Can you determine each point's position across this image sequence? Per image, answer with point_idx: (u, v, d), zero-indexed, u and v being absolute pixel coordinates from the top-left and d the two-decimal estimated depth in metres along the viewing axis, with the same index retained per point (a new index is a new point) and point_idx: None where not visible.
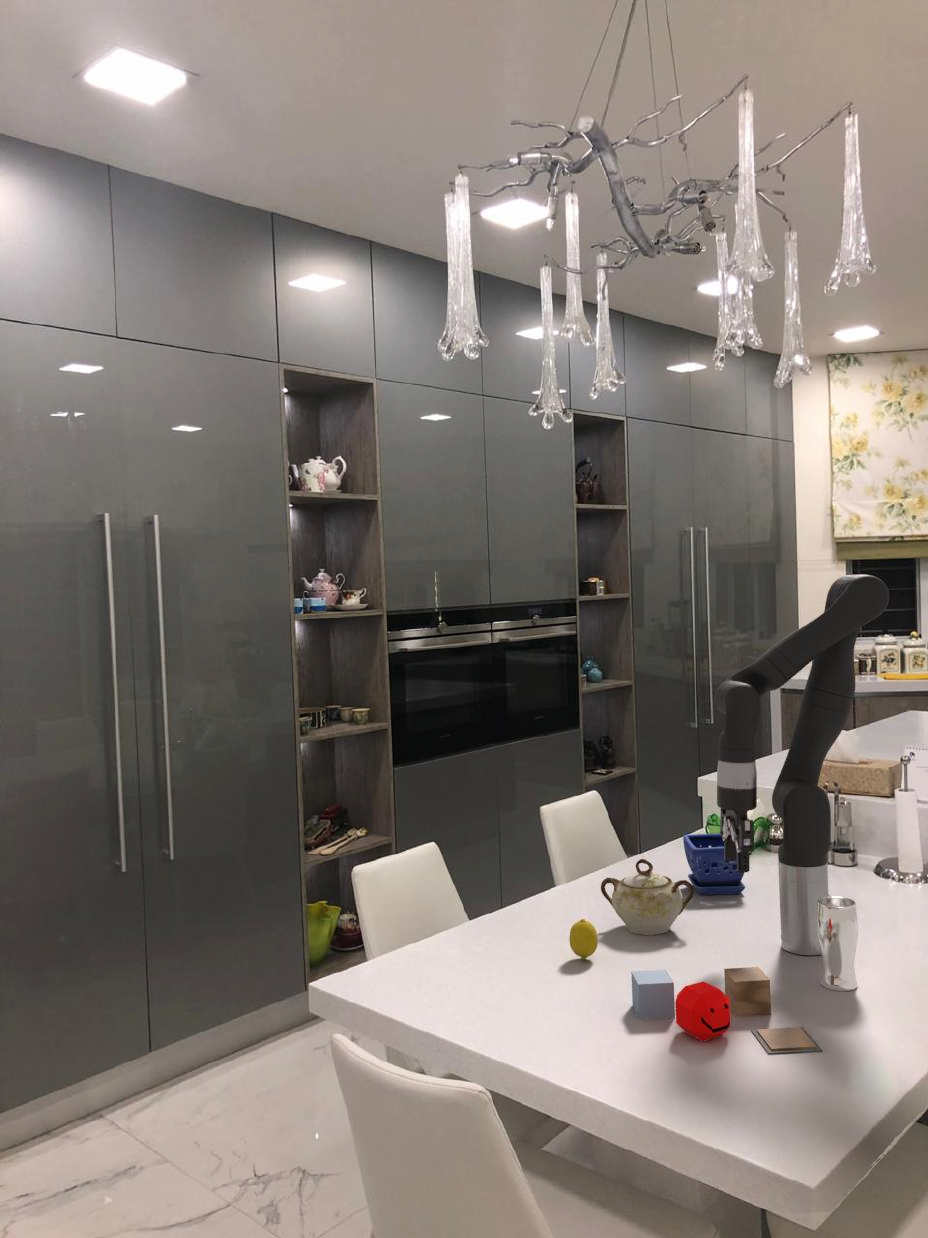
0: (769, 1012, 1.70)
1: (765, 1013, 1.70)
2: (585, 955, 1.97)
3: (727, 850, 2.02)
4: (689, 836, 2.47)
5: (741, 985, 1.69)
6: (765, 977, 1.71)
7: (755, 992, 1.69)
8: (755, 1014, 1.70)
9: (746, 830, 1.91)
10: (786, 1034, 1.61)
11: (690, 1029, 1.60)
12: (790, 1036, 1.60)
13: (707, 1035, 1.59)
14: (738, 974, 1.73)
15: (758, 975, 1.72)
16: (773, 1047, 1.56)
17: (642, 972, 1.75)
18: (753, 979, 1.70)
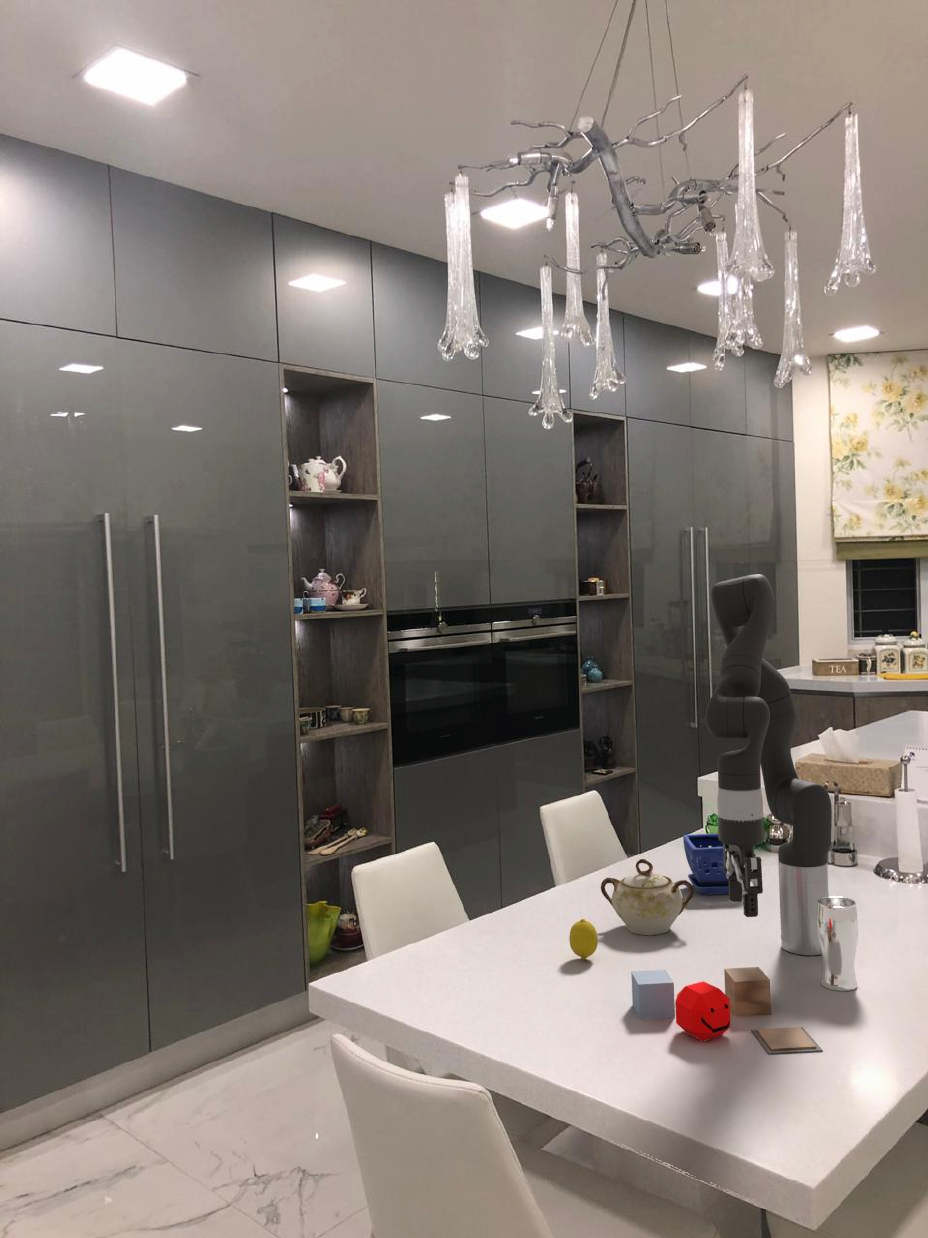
0: (769, 1012, 1.70)
1: (765, 1013, 1.70)
2: (585, 955, 1.97)
3: (732, 890, 1.76)
4: (689, 836, 2.47)
5: (741, 985, 1.69)
6: (765, 977, 1.71)
7: (755, 992, 1.69)
8: (755, 1014, 1.70)
9: (753, 869, 1.65)
10: (786, 1034, 1.61)
11: (690, 1029, 1.60)
12: (790, 1036, 1.60)
13: (707, 1035, 1.59)
14: (738, 974, 1.73)
15: (758, 975, 1.72)
16: (773, 1047, 1.56)
17: (642, 972, 1.75)
18: (753, 979, 1.70)
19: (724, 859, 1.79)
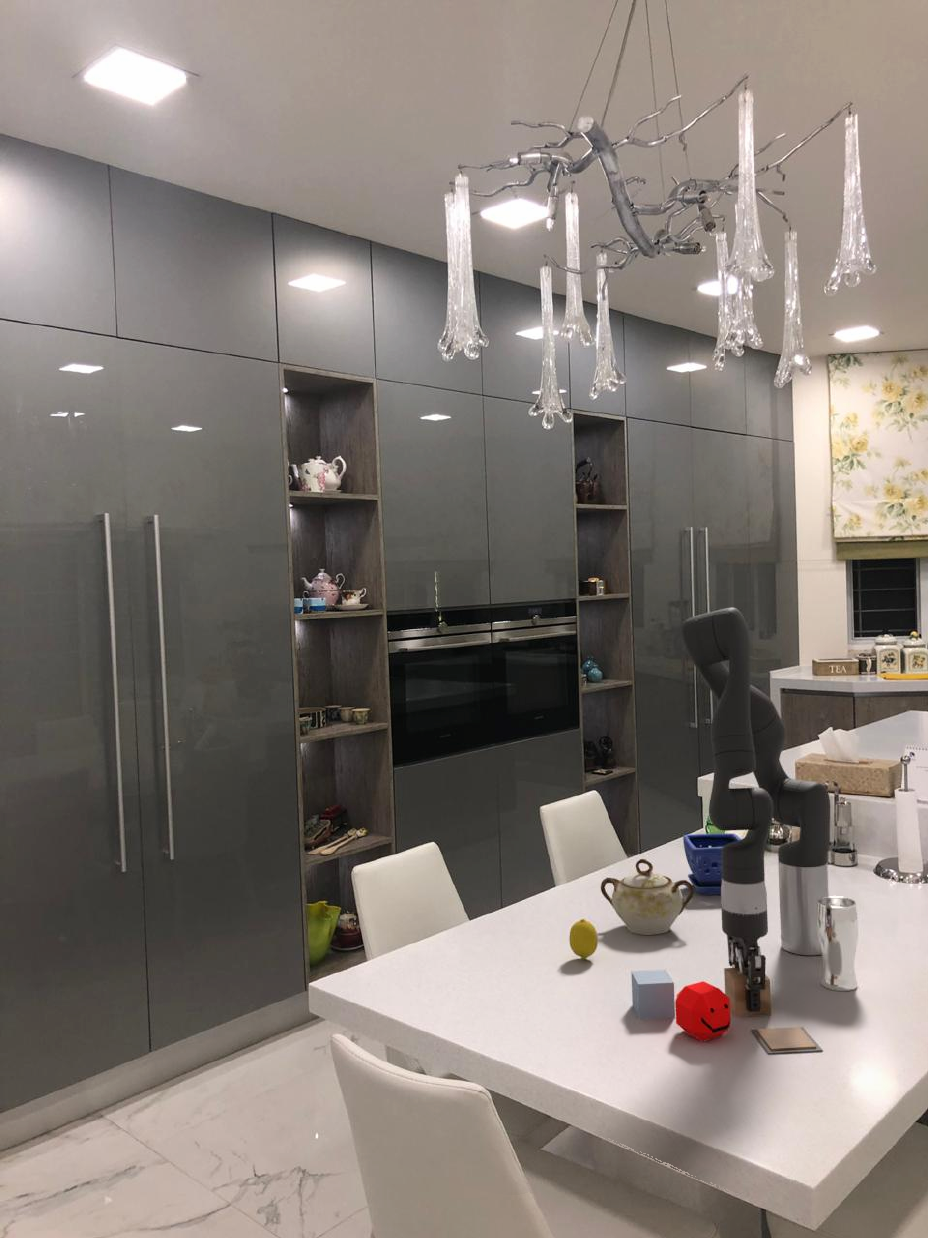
0: (769, 1012, 1.70)
1: (765, 1013, 1.70)
2: (585, 955, 1.97)
3: None
4: (689, 836, 2.47)
5: (741, 985, 1.69)
6: (765, 977, 1.71)
7: None
8: (755, 1014, 1.69)
9: (756, 968, 1.66)
10: (786, 1034, 1.61)
11: (690, 1029, 1.60)
12: (790, 1036, 1.60)
13: (707, 1035, 1.59)
14: (738, 974, 1.72)
15: None
16: (773, 1047, 1.56)
17: (642, 972, 1.75)
18: None
19: (729, 952, 1.78)
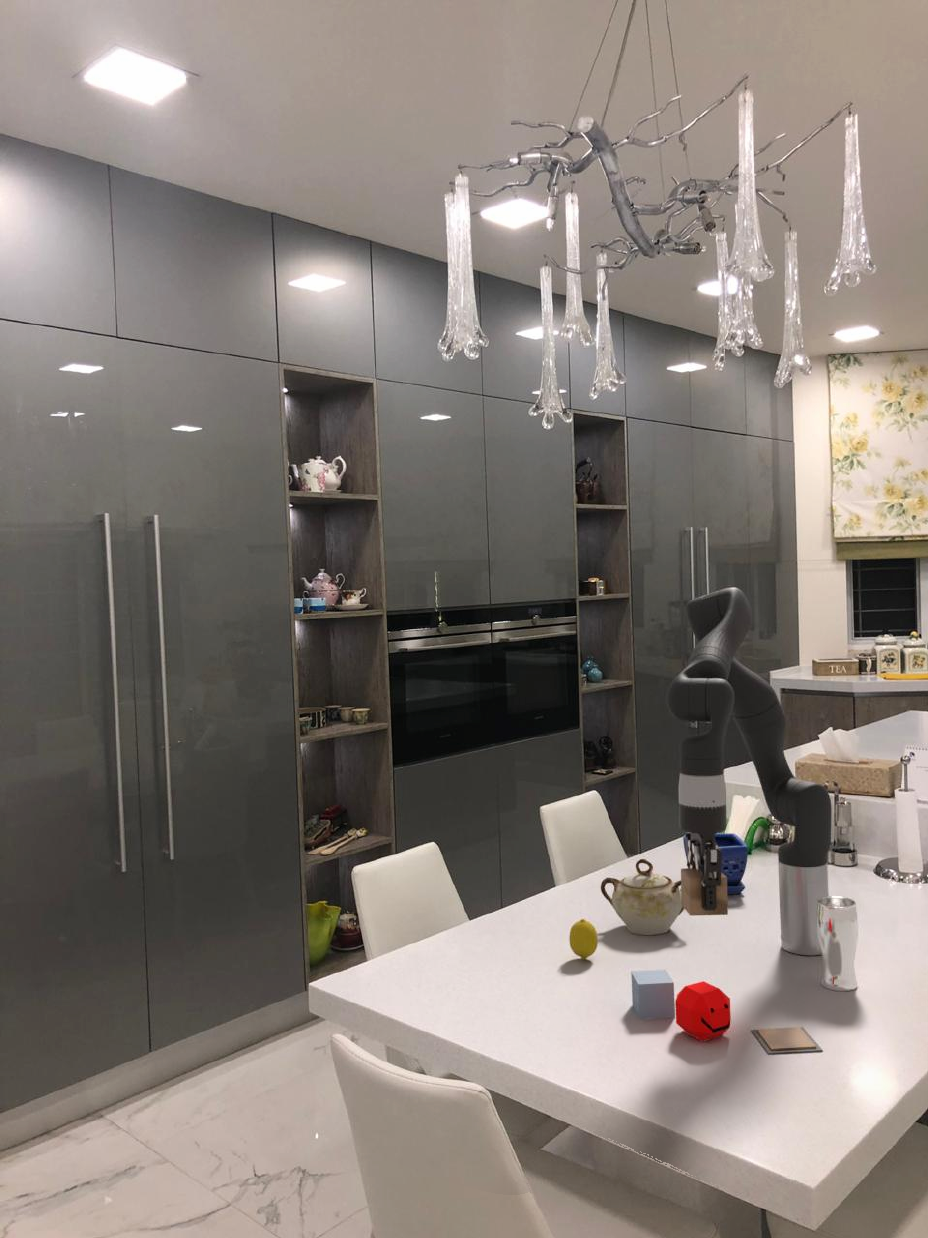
0: (725, 911, 1.62)
1: (721, 912, 1.62)
2: (585, 955, 1.97)
3: None
4: None
5: (696, 882, 1.62)
6: (722, 875, 1.63)
7: None
8: (711, 913, 1.62)
9: (712, 862, 1.58)
10: (786, 1034, 1.61)
11: (690, 1029, 1.60)
12: (790, 1036, 1.60)
13: (707, 1035, 1.59)
14: (695, 872, 1.65)
15: None
16: (773, 1047, 1.56)
17: (642, 972, 1.75)
18: (709, 876, 1.62)
19: (687, 853, 1.70)
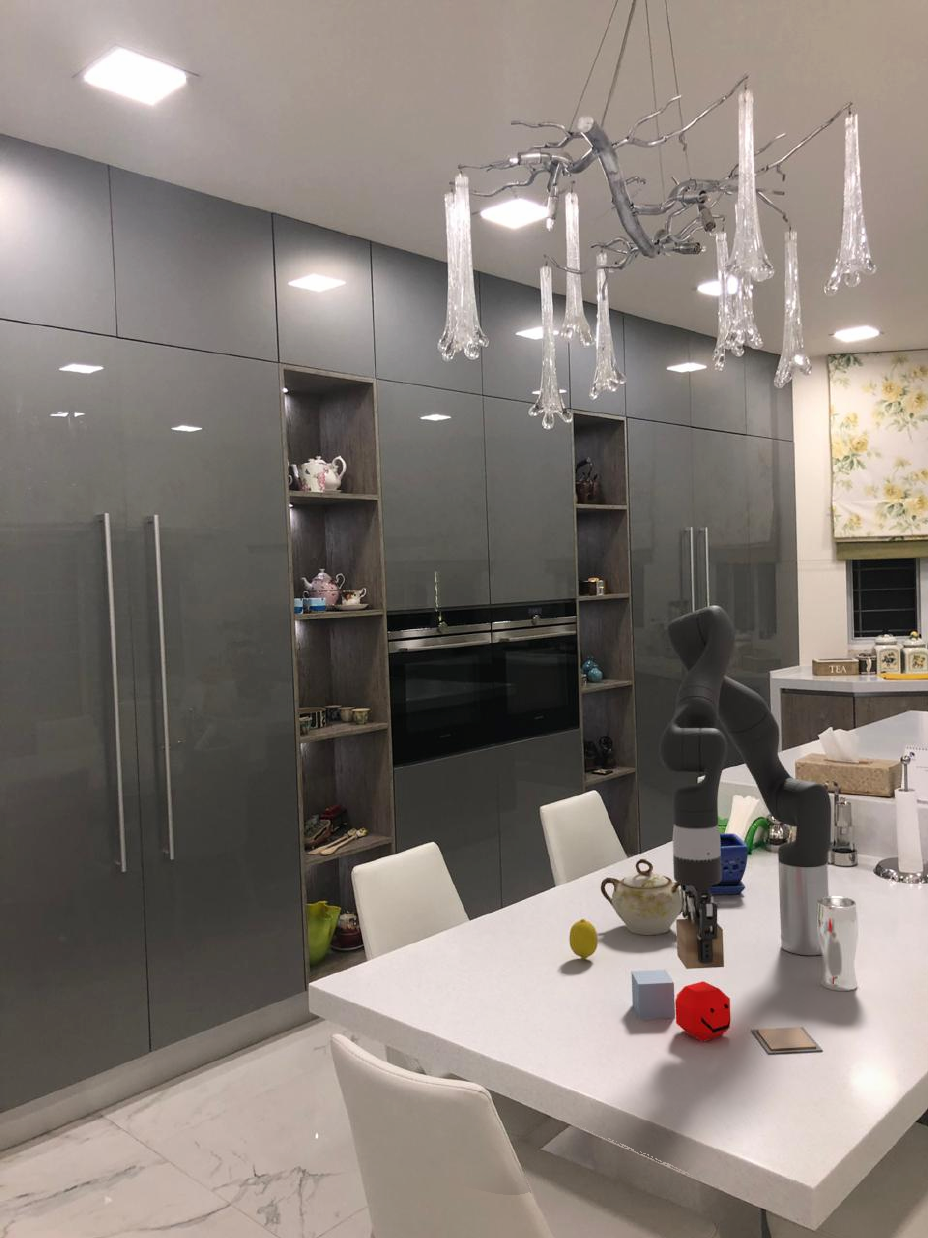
0: (722, 964, 1.60)
1: (717, 965, 1.60)
2: (585, 955, 1.97)
3: None
4: None
5: (692, 935, 1.60)
6: (718, 927, 1.61)
7: None
8: (707, 966, 1.60)
9: (708, 916, 1.56)
10: (786, 1034, 1.61)
11: (690, 1029, 1.60)
12: (790, 1036, 1.60)
13: (707, 1035, 1.59)
14: (690, 924, 1.63)
15: None
16: (773, 1047, 1.56)
17: (642, 972, 1.75)
18: (705, 929, 1.60)
19: (682, 903, 1.69)
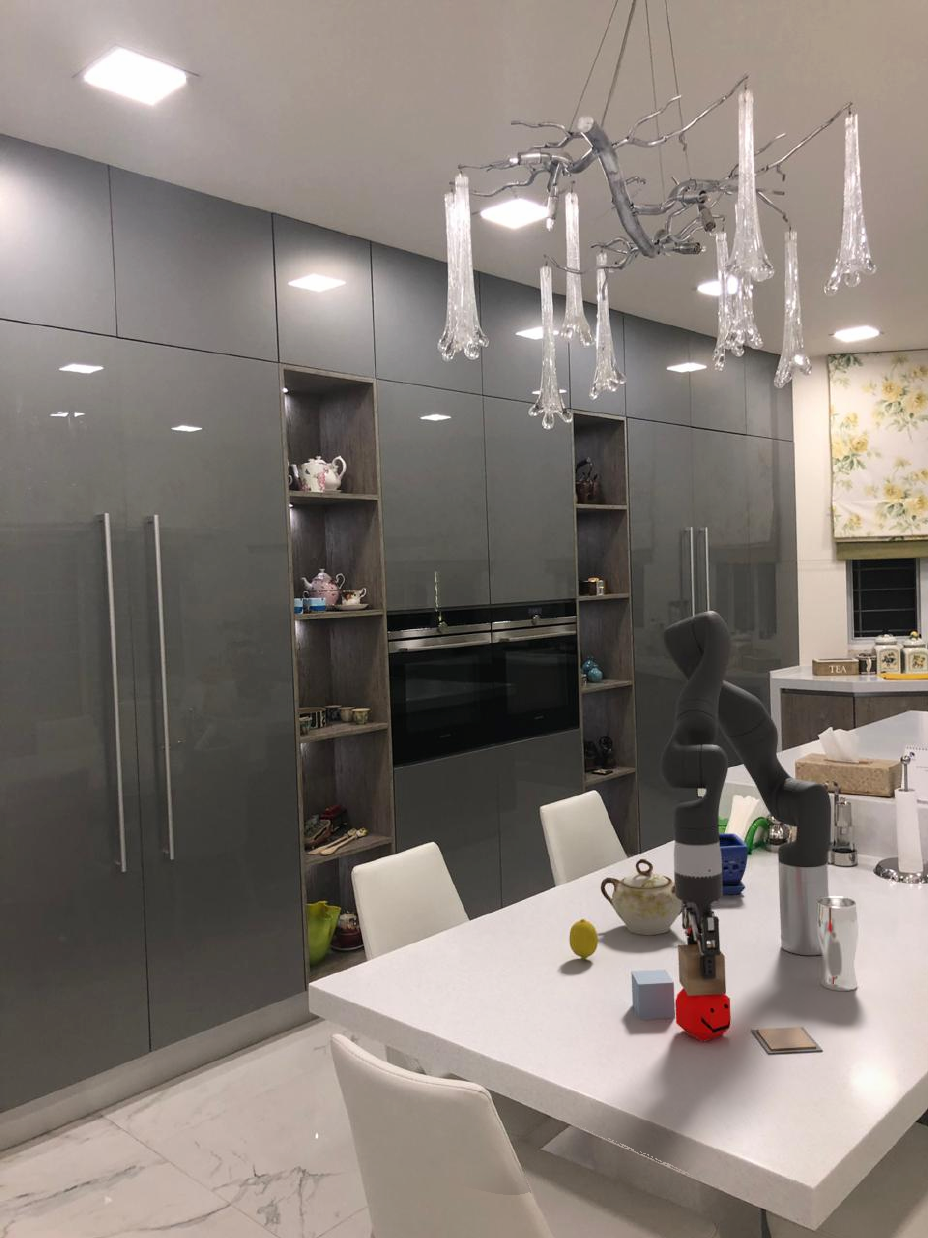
0: (724, 990, 1.60)
1: (719, 991, 1.60)
2: (585, 955, 1.97)
3: None
4: None
5: (694, 962, 1.60)
6: (720, 953, 1.61)
7: None
8: (709, 992, 1.60)
9: (709, 930, 1.56)
10: (786, 1034, 1.61)
11: (690, 1029, 1.60)
12: (790, 1036, 1.60)
13: (707, 1035, 1.59)
14: (692, 950, 1.63)
15: None
16: (773, 1047, 1.56)
17: (642, 972, 1.75)
18: None
19: (683, 915, 1.69)
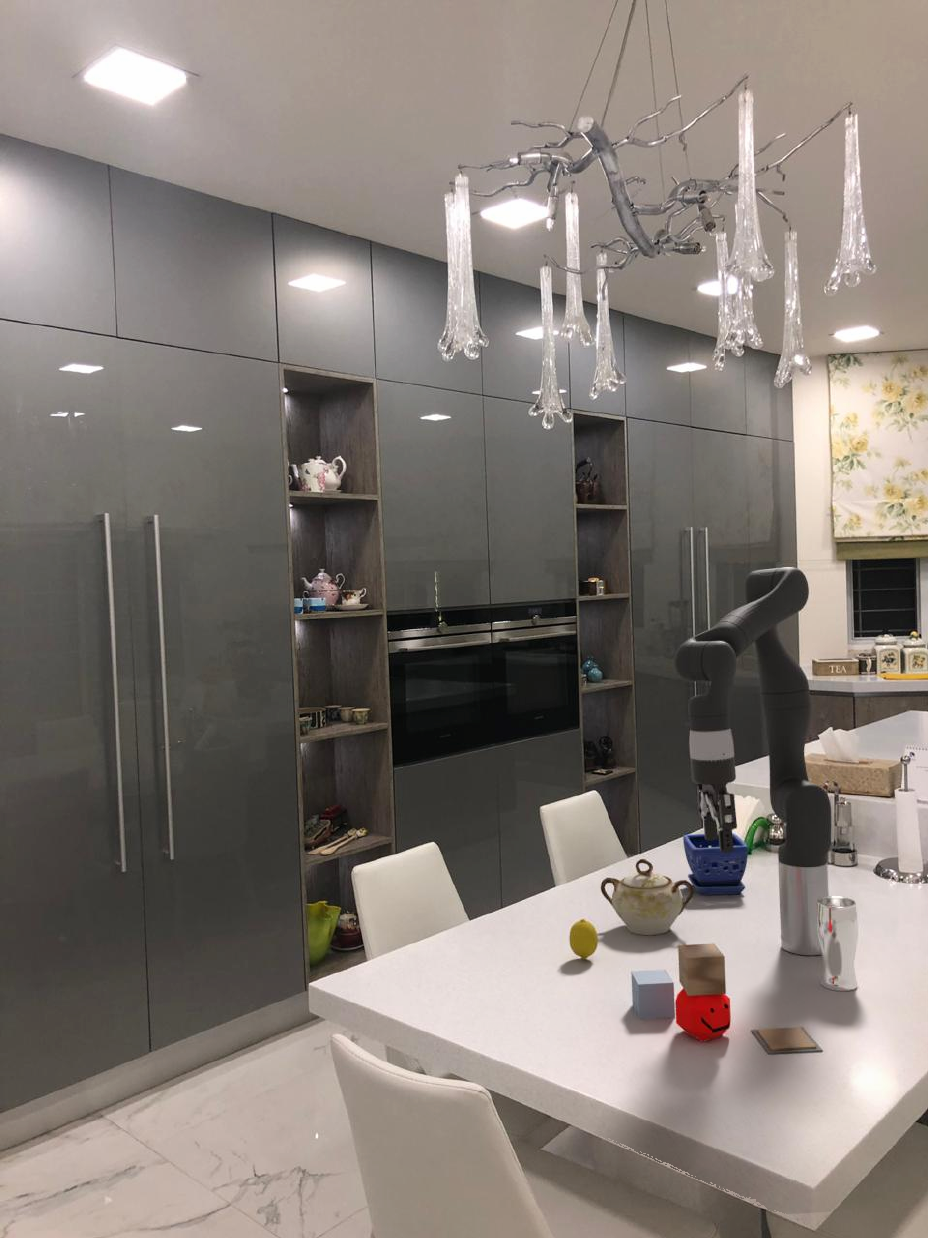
0: (723, 990, 1.60)
1: (719, 991, 1.60)
2: (585, 955, 1.97)
3: (707, 829, 1.82)
4: (689, 836, 2.47)
5: (694, 962, 1.60)
6: (720, 953, 1.61)
7: (709, 969, 1.60)
8: (709, 992, 1.60)
9: (726, 805, 1.71)
10: (786, 1034, 1.61)
11: (690, 1029, 1.60)
12: (790, 1036, 1.60)
13: (707, 1035, 1.59)
14: (692, 950, 1.63)
15: (712, 952, 1.62)
16: (773, 1047, 1.56)
17: (642, 972, 1.75)
18: (707, 956, 1.61)
19: (698, 800, 1.84)
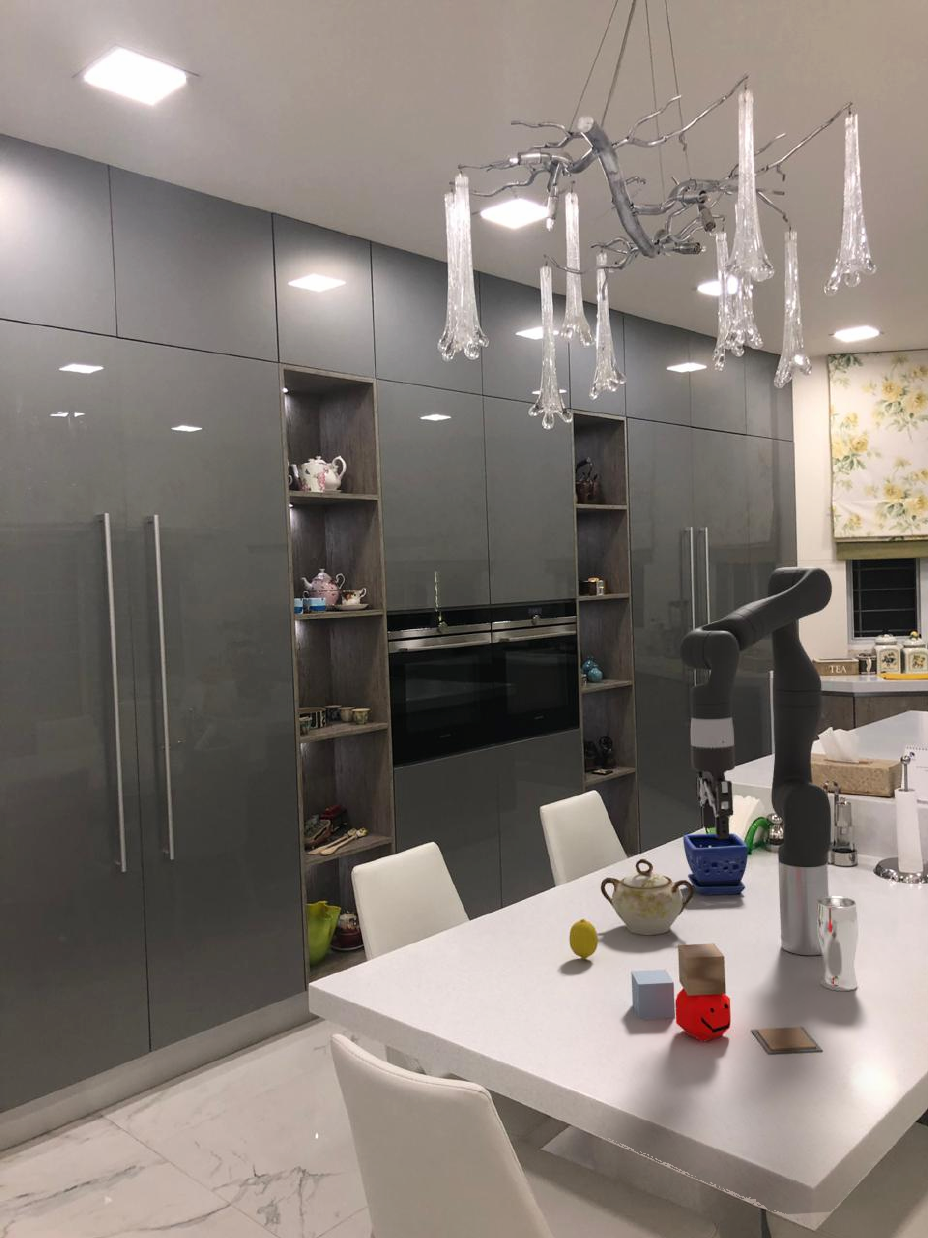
0: (723, 990, 1.60)
1: (719, 991, 1.60)
2: (585, 955, 1.97)
3: (705, 816, 1.85)
4: (689, 836, 2.47)
5: (694, 962, 1.60)
6: (719, 953, 1.61)
7: (709, 968, 1.60)
8: (708, 992, 1.60)
9: (723, 792, 1.74)
10: (786, 1034, 1.61)
11: (690, 1029, 1.60)
12: (790, 1036, 1.60)
13: (707, 1035, 1.59)
14: (692, 950, 1.63)
15: (712, 952, 1.62)
16: (773, 1047, 1.56)
17: (642, 972, 1.75)
18: (707, 955, 1.61)
19: (698, 788, 1.87)
